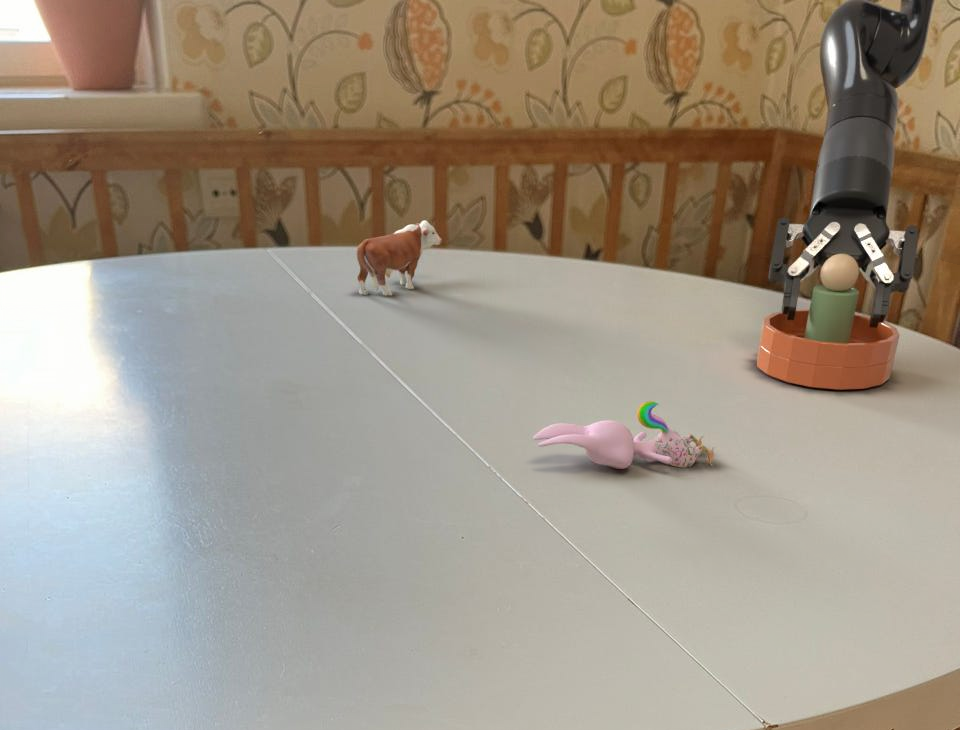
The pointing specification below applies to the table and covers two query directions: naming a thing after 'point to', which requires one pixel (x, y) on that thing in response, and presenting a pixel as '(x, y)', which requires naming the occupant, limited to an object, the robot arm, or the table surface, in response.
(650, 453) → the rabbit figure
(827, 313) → the doll
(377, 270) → the bull figurine
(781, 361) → the bowl
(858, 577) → the table surface
